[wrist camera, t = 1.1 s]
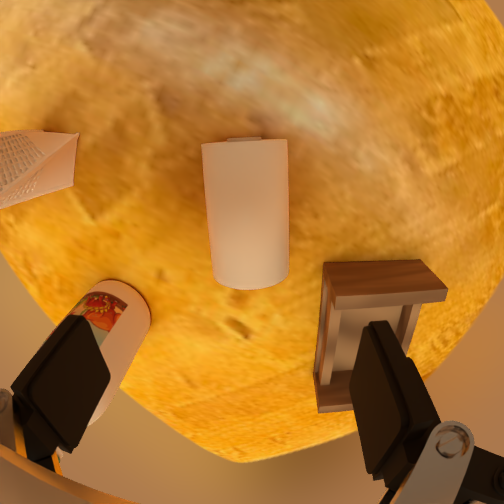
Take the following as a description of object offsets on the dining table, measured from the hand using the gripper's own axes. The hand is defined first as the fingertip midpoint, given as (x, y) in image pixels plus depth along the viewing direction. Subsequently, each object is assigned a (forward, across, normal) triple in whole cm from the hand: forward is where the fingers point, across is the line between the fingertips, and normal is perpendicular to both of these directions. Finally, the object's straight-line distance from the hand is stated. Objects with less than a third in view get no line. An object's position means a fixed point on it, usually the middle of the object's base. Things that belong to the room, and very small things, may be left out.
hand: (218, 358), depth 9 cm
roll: (+17, 0, -1) cm, 17 cm away
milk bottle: (+17, +14, +10) cm, 25 cm away
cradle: (+17, -12, +12) cm, 24 cm away
